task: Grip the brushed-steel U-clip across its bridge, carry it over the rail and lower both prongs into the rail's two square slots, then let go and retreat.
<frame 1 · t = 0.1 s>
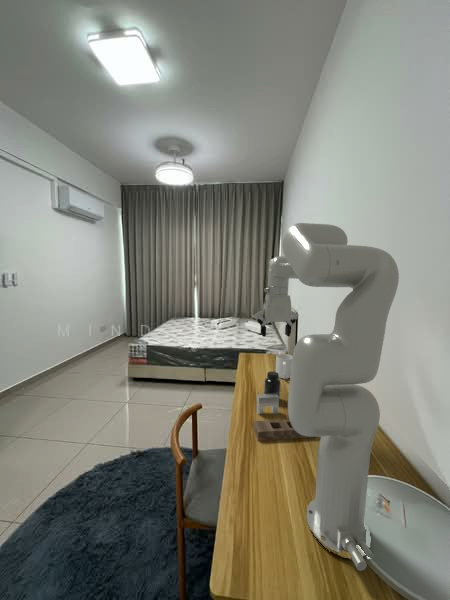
hand: (275, 335, 94), 31 cm above the table, fingers open, 9 cm apart
rail: (283, 433, 84), on the table
supplement bottle: (271, 400, 107), on the table
mug: (283, 378, 132), on the table
clip: (267, 412, 97), on the table
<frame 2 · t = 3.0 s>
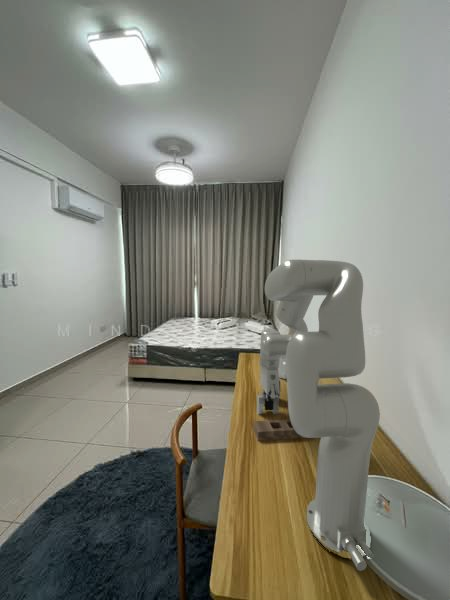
hand: (267, 406, 97), 2 cm above the table, fingers closed on clip, 3 cm apart
clip: (267, 412, 97), on the table, touching gripper
everything else where it was.
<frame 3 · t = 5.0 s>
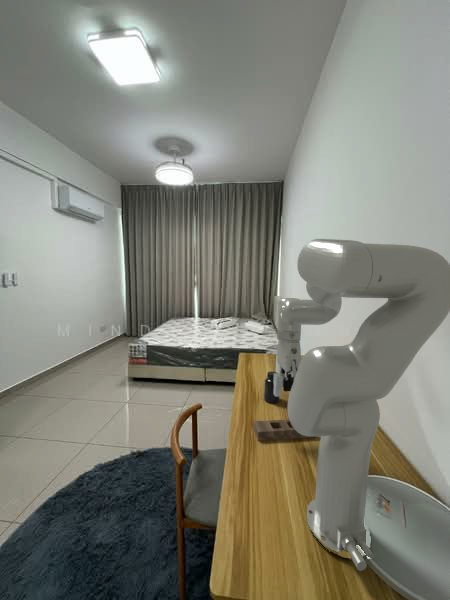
hand: (286, 387, 83), 16 cm above the table, fingers closed on clip, 3 cm apart
clip: (285, 394, 83), point 14 cm above the table, touching gripper
everything else where it was.
when the fingers open (3 cm above the table, at t = 6.9 s): clip drops 1 cm, resting in rail.
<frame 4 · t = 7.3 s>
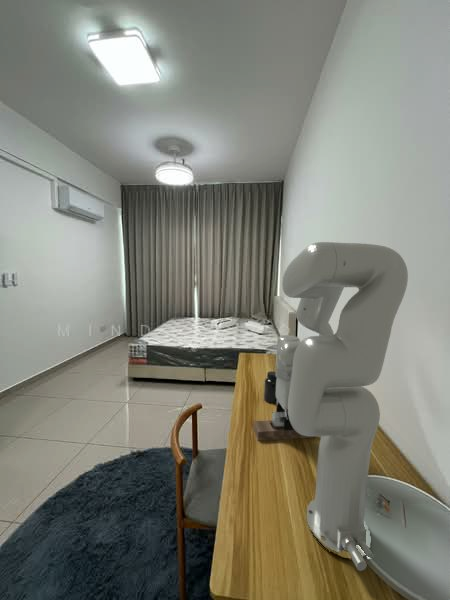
hand: (284, 422, 84), 4 cm above the table, fingers open, 7 cm apart
clip: (283, 433, 84), resting in rail
everything else where it was.
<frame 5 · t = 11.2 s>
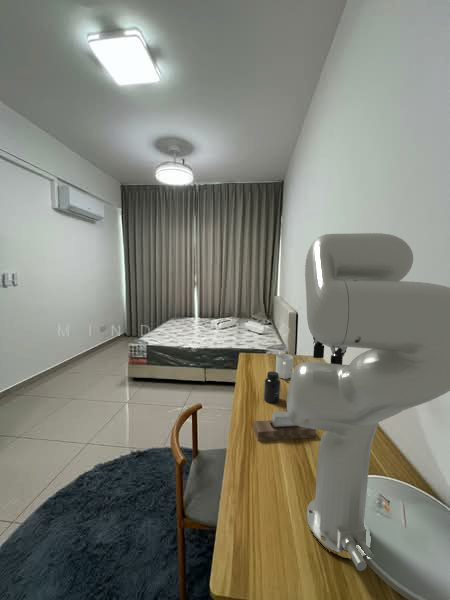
hand: (326, 363, 73), 28 cm above the table, fingers open, 9 cm apart
nothing on the table moved.
at the end: clip 0.2 cm off-centre on the rail, point 0.0 cm above the rail's base; clip tilted 0°; the gripper is holding nothing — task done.
